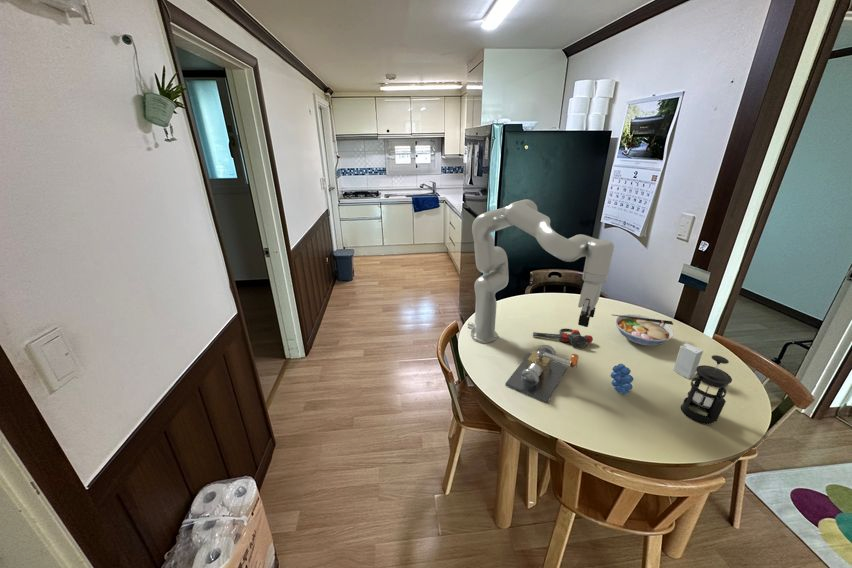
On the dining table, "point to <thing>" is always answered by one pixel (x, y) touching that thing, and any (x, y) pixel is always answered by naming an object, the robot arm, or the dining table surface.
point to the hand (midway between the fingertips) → (585, 320)
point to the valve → (569, 337)
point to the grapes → (622, 379)
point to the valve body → (537, 375)
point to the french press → (704, 399)
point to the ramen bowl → (644, 329)
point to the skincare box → (687, 360)
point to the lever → (570, 363)
